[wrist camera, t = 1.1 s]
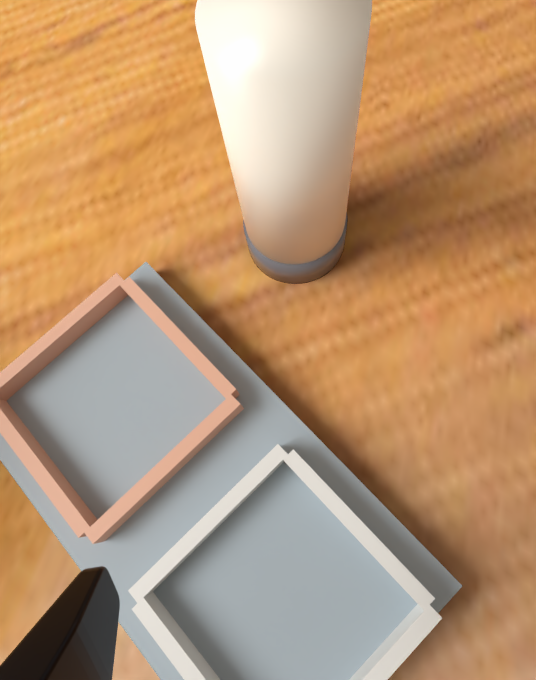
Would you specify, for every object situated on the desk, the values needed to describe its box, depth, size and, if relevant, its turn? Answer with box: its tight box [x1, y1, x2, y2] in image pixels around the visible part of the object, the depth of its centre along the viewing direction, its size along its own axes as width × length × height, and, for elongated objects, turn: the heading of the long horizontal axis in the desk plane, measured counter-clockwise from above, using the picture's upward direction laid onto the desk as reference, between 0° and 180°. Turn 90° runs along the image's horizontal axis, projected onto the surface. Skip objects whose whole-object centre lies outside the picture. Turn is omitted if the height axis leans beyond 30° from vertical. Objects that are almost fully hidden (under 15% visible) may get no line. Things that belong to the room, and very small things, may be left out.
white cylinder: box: [195, 0, 372, 284], centre depth 20 cm, size 5×5×13 cm
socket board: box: [0, 262, 462, 680], centre depth 21 cm, size 20×11×2 cm, turn 43°
